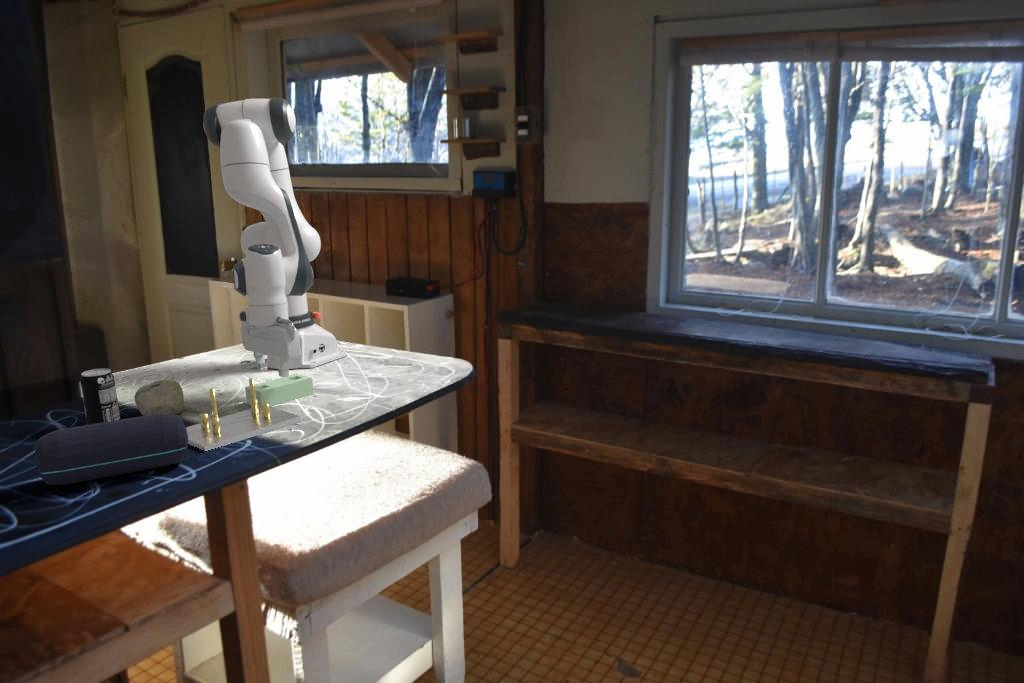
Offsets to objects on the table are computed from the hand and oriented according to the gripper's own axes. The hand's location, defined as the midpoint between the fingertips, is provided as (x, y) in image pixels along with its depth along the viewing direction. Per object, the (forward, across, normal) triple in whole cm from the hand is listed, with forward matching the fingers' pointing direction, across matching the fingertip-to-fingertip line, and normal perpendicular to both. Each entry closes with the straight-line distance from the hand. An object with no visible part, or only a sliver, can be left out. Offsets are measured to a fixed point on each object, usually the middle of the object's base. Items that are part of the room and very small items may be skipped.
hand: (273, 373), depth 187 cm
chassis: (+7, -12, +16) cm, 21 cm away
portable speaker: (+9, -16, +42) cm, 46 cm away
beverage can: (+8, +16, +33) cm, 37 cm away
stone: (+8, +12, +22) cm, 26 cm away
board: (+6, 0, -2) cm, 7 cm away
